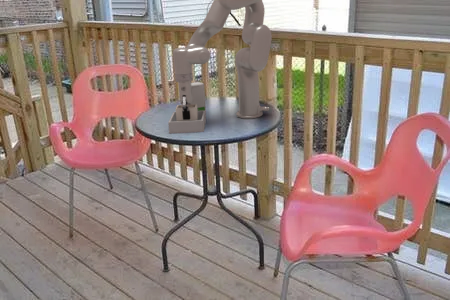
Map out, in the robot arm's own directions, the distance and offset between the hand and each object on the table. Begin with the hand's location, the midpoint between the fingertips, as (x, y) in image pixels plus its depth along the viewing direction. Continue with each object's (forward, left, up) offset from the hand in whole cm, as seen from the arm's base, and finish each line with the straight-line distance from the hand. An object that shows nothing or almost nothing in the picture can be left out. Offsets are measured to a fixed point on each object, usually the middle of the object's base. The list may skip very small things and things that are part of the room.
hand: (187, 116), depth 192 cm
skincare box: (-2, -19, -5) cm, 20 cm away
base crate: (0, 0, -5) cm, 5 cm away
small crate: (0, 0, -1) cm, 1 cm away
